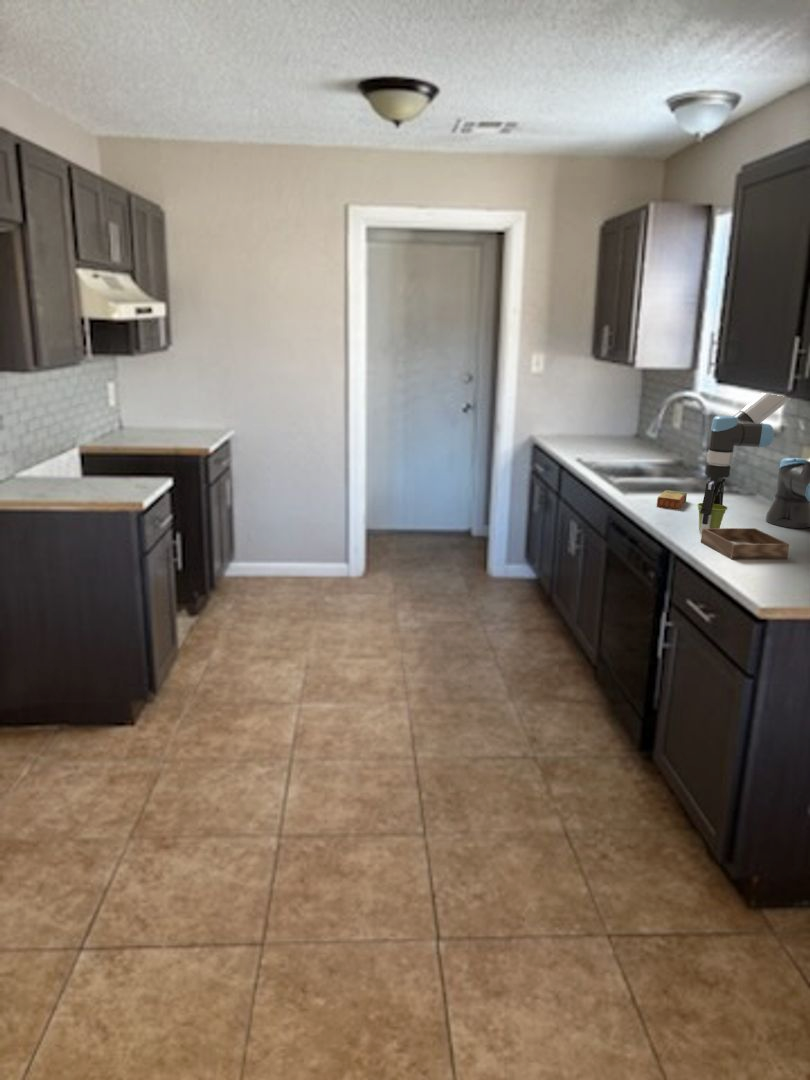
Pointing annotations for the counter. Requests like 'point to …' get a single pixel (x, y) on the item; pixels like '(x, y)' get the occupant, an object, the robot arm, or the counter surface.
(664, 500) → the carton
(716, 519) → the plant pot
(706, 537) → the brown wooden square tray
